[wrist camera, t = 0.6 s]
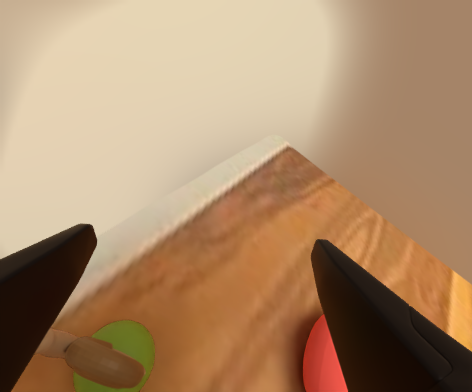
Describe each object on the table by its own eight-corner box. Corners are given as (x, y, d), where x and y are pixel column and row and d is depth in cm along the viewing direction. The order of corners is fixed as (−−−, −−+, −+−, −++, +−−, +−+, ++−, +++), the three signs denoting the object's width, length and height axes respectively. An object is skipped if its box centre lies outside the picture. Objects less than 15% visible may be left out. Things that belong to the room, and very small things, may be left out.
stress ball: (270, 353, 23) (302, 401, 17) (323, 290, 26) (368, 312, 20) (300, 387, 24) (342, 445, 18) (350, 322, 26) (402, 353, 20)
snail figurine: (101, 312, 21) (53, 271, 11) (166, 336, 21) (170, 316, 12) (56, 386, 17) (-66, 413, 8) (134, 414, 17) (103, 472, 8)
